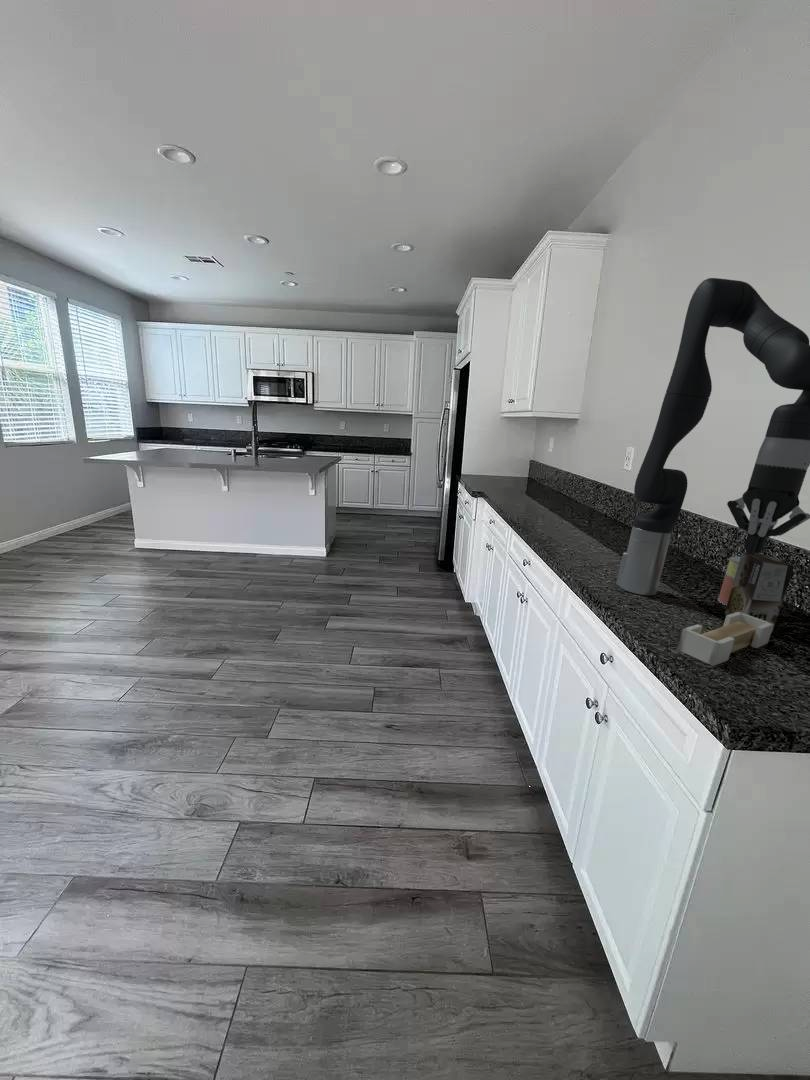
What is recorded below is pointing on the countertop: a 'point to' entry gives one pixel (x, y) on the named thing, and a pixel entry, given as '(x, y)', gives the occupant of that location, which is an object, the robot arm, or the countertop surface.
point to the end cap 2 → (761, 625)
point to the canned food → (729, 580)
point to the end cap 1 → (704, 646)
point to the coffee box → (759, 587)
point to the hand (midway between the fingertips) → (752, 553)
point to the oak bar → (734, 634)
